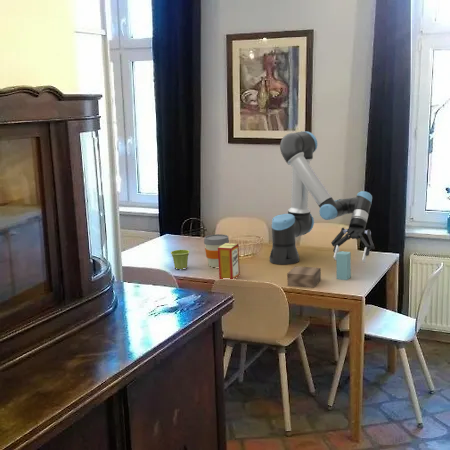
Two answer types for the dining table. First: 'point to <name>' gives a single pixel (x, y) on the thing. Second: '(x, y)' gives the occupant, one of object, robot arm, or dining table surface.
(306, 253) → the dining table surface
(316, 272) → the walnut block
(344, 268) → the teal wooden block
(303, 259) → the dining table surface
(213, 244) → the reusable coffee cup
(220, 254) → the baking soda box
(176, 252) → the plant pot
